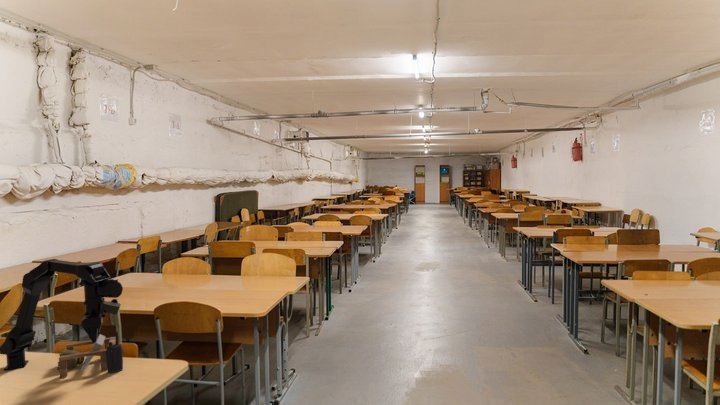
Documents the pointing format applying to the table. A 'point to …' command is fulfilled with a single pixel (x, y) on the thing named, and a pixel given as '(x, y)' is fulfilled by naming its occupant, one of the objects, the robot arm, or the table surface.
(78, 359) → the brass rounded piece
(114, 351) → the two-way radio
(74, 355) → the frame
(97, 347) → the trapdoor
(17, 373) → the table surface
